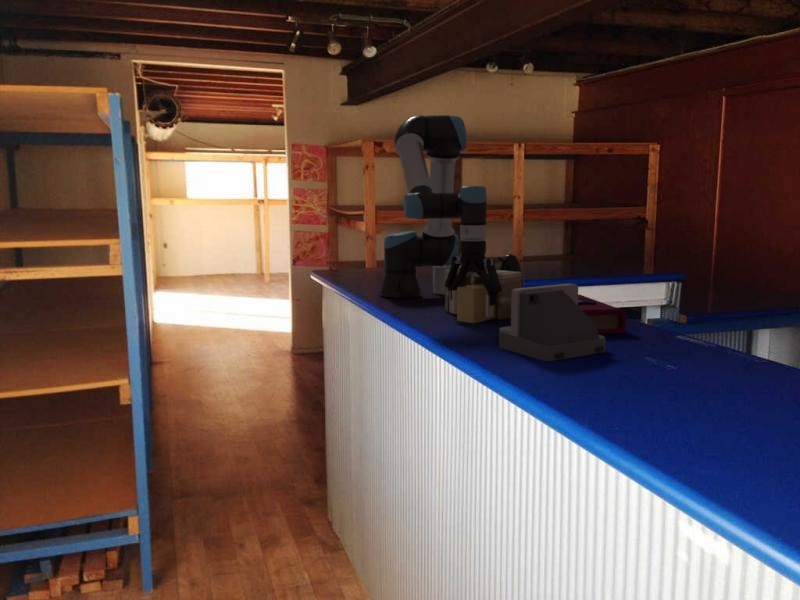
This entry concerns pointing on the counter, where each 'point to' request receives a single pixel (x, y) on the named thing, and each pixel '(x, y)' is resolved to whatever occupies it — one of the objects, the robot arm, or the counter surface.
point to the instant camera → (550, 324)
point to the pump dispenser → (511, 265)
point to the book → (603, 315)
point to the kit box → (473, 304)
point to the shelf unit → (507, 282)
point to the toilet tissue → (439, 279)
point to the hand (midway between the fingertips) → (472, 314)
